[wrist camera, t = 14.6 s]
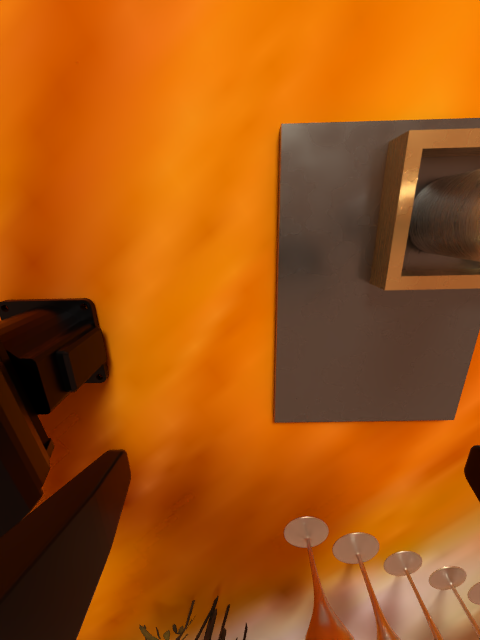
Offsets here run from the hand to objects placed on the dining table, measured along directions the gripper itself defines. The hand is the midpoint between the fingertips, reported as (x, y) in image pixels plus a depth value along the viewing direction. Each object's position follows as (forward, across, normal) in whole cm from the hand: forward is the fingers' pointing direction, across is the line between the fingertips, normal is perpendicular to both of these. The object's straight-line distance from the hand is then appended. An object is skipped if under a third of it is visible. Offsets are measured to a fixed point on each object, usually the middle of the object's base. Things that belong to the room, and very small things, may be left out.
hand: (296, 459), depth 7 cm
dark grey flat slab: (+13, -8, -1) cm, 15 cm away
